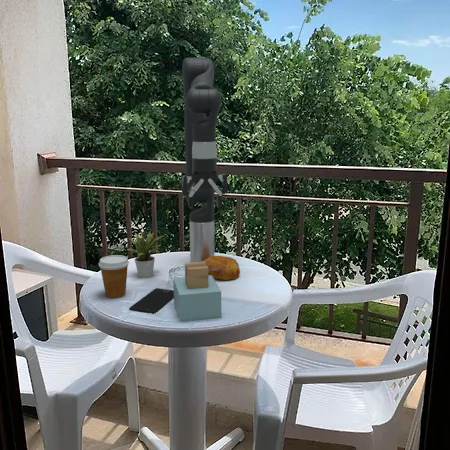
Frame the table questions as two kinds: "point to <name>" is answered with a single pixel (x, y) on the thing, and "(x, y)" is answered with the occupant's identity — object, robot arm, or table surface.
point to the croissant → (222, 267)
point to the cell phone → (153, 301)
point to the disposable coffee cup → (114, 275)
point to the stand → (197, 300)
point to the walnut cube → (196, 275)
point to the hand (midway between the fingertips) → (205, 207)
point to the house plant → (145, 255)
